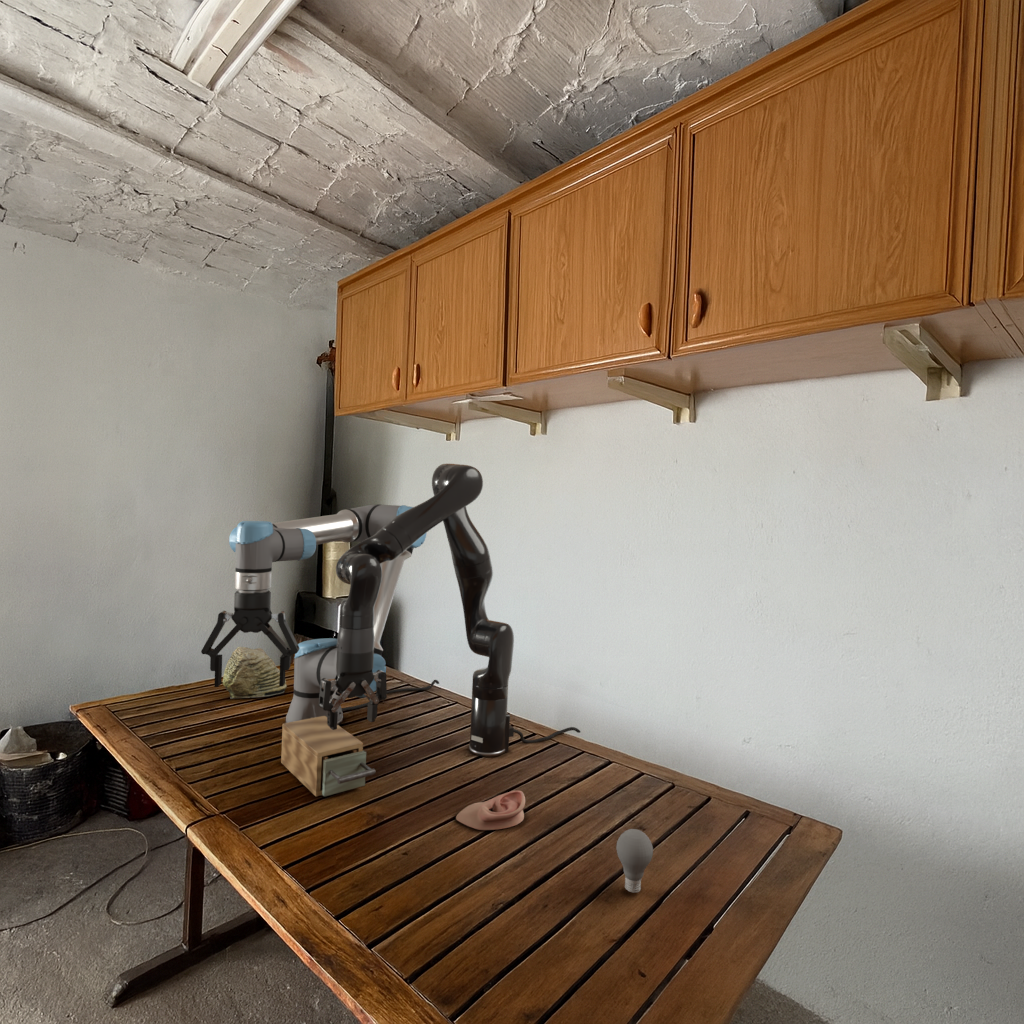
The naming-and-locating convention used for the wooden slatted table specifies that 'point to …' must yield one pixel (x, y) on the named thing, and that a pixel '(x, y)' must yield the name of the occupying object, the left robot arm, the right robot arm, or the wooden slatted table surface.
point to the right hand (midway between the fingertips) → (352, 724)
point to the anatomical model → (495, 812)
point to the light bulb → (634, 857)
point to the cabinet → (313, 748)
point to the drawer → (344, 771)
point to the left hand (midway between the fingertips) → (250, 685)
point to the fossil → (251, 674)
